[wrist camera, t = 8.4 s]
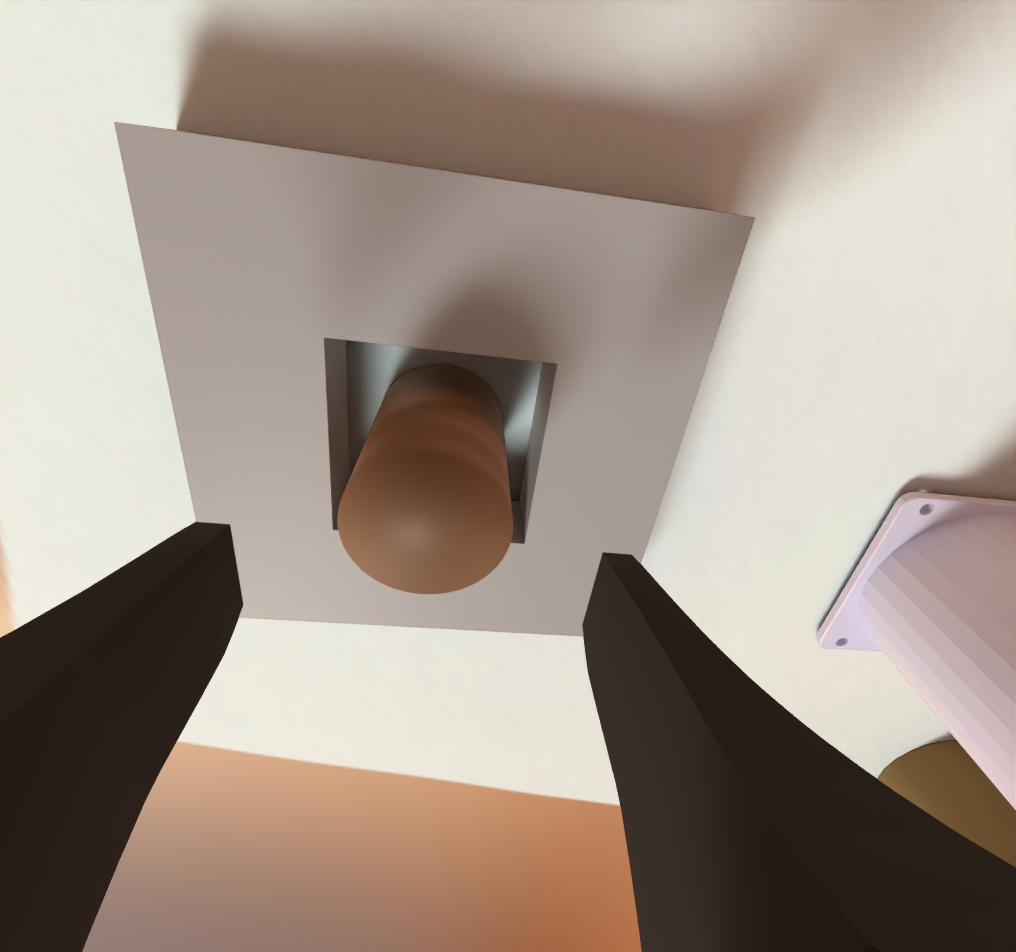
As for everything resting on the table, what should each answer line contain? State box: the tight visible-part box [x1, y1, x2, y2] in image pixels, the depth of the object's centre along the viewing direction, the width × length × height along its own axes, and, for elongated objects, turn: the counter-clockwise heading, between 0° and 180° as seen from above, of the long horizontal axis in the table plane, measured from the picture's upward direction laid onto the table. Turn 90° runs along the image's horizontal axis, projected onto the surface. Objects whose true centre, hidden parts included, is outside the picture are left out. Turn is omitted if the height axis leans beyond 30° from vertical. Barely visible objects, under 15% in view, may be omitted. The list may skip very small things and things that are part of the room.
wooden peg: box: [337, 364, 513, 594], centre depth 15 cm, size 4×4×6 cm
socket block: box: [114, 122, 755, 636], centre depth 16 cm, size 14×14×2 cm
